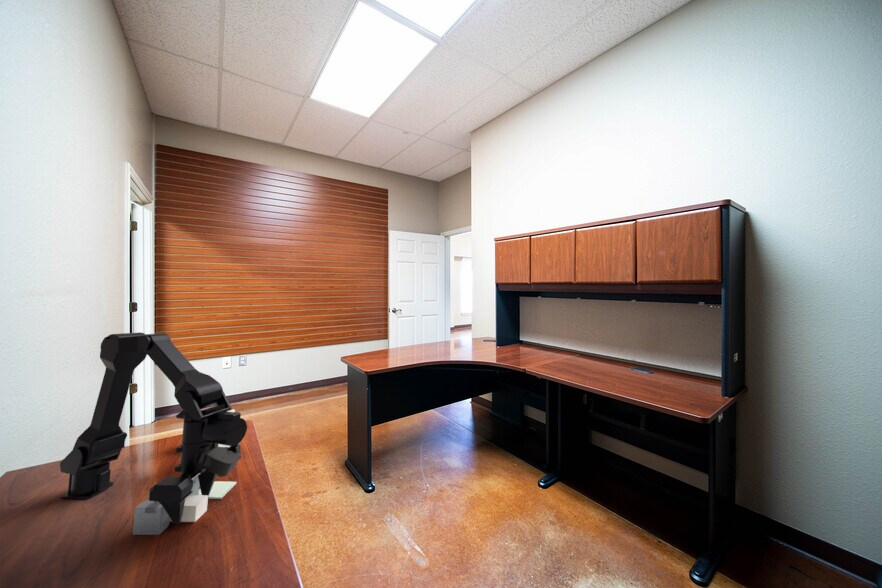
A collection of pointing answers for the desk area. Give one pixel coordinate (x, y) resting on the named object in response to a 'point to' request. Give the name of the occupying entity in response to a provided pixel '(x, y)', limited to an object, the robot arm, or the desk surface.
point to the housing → (154, 515)
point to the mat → (219, 489)
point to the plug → (194, 508)
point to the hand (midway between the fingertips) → (192, 509)
